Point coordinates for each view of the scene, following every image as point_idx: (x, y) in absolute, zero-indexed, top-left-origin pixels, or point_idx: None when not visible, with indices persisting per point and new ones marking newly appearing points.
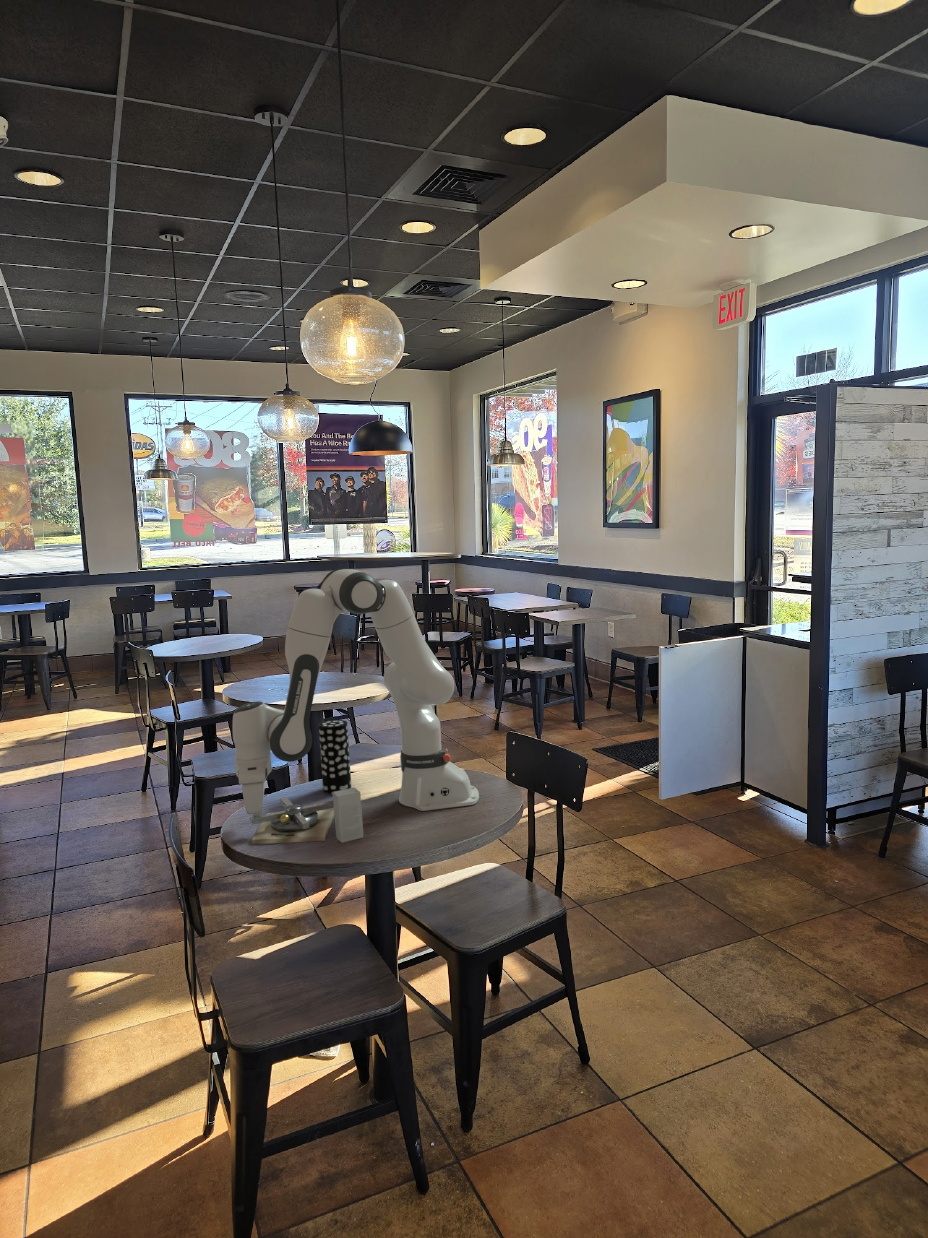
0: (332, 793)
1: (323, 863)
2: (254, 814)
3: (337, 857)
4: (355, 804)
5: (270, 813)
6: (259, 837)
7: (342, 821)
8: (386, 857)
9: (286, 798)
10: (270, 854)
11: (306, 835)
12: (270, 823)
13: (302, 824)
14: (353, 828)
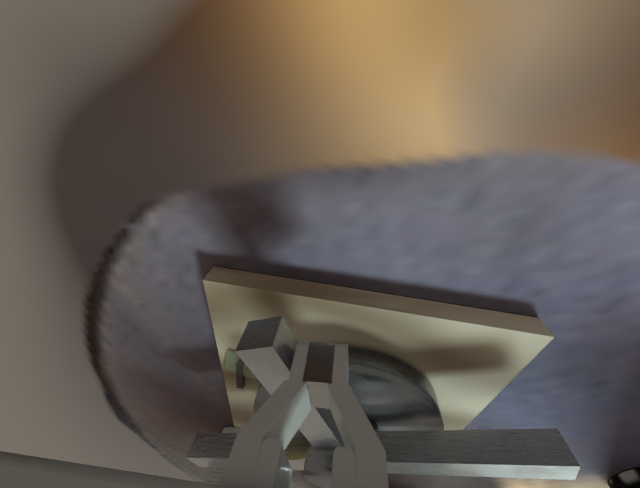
0: (631, 474)
1: (117, 395)
2: (290, 377)
3: (151, 413)
4: None
5: (317, 417)
6: (227, 306)
7: None
8: (165, 450)
9: (536, 477)
10: (137, 317)
11: (239, 404)
12: (385, 341)
13: (188, 454)
14: None
